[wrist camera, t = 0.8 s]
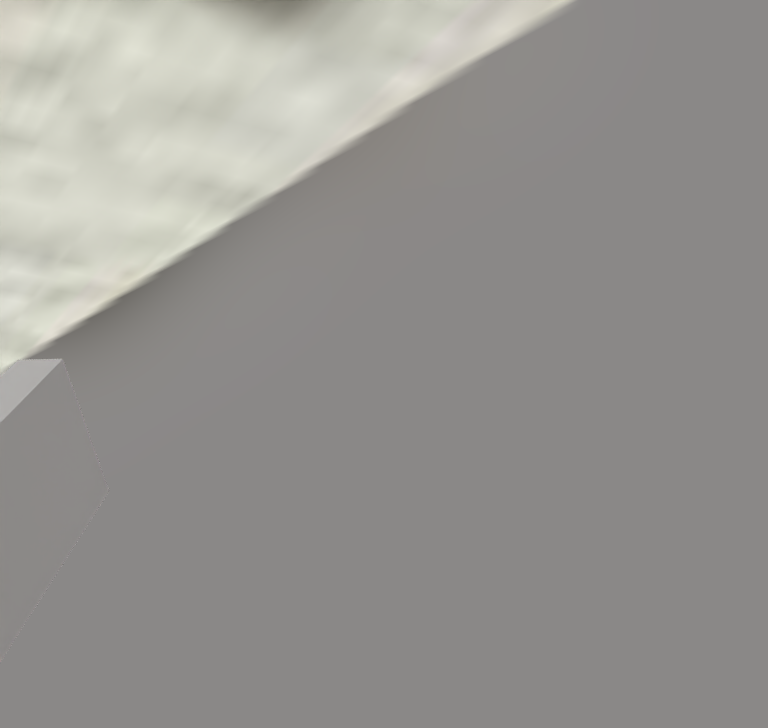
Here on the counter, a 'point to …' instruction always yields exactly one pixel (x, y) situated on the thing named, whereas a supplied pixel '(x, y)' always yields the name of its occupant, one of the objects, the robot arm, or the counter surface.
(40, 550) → the robot arm
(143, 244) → the counter surface
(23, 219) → the counter surface
